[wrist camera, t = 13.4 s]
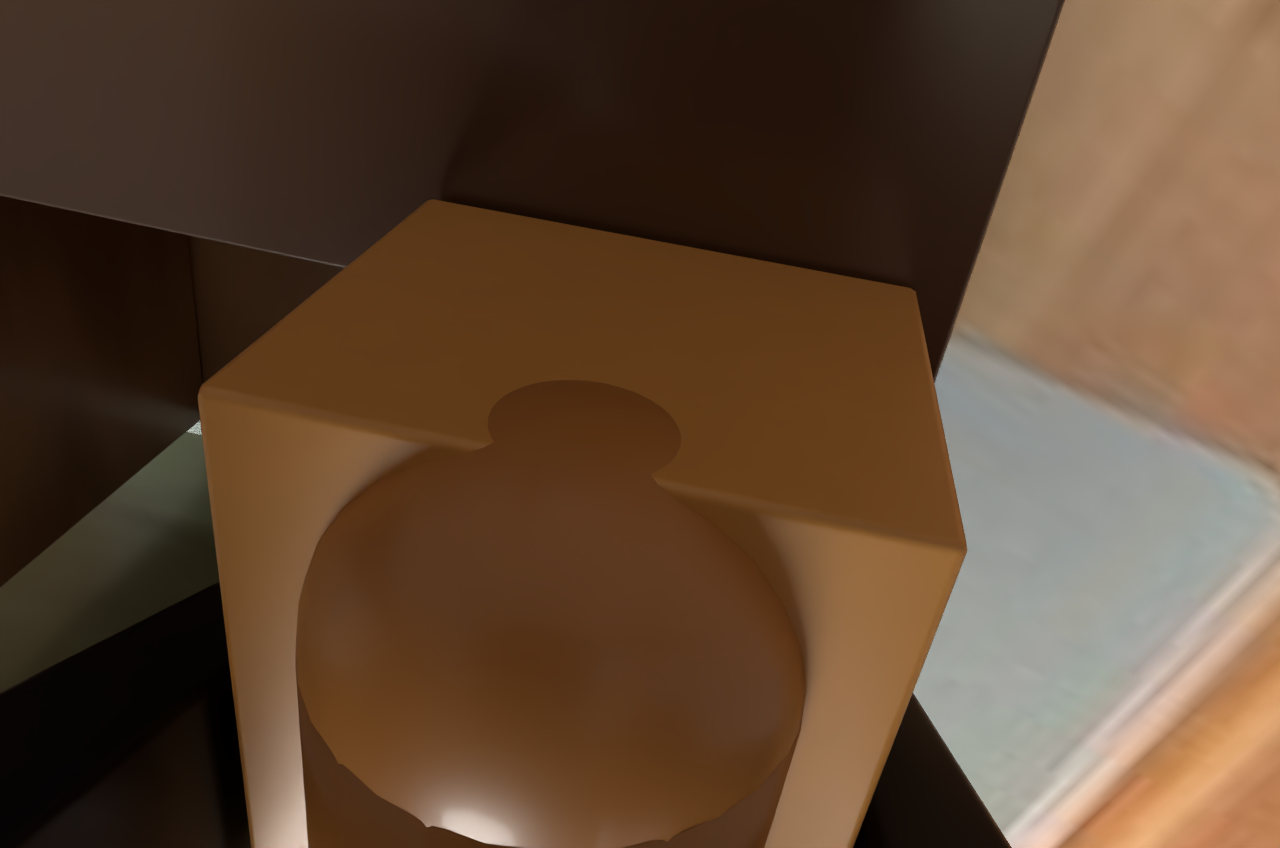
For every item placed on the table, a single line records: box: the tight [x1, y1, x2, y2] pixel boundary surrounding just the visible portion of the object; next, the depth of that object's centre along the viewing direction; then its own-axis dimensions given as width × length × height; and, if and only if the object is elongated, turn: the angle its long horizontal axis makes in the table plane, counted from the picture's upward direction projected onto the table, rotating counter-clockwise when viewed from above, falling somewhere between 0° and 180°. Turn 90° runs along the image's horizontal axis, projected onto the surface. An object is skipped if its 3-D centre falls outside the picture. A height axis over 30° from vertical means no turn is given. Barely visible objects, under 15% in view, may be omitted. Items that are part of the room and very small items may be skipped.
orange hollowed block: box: [198, 199, 967, 848], centre depth 8 cm, size 7×4×5 cm, turn 172°
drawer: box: [0, 196, 344, 692], centre depth 16 cm, size 18×13×8 cm
